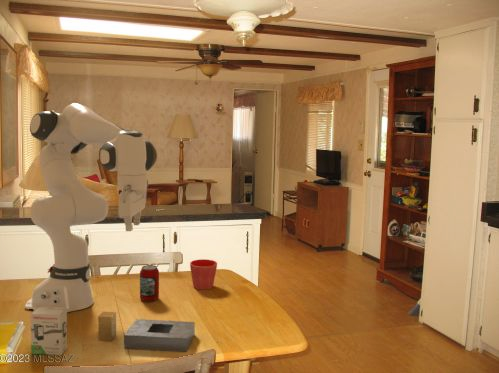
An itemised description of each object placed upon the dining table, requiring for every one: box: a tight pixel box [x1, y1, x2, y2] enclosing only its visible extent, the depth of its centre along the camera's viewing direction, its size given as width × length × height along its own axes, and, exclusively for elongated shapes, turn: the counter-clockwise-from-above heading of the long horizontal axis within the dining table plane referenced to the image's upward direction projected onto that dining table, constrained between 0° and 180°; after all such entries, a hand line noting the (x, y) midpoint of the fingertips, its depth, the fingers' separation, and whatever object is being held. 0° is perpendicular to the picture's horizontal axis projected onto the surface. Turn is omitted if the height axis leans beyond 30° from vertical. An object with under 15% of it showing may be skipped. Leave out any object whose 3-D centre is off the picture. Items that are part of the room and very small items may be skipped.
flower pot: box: [189, 258, 218, 291], centre depth 200 cm, size 11×11×10 cm
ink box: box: [30, 307, 68, 356], centre depth 141 cm, size 9×5×12 cm, turn 90°
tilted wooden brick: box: [97, 311, 117, 343], centre depth 150 cm, size 4×4×8 cm
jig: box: [123, 318, 196, 353], centre depth 149 cm, size 18×12×4 cm, turn 86°
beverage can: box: [139, 264, 160, 302], centre depth 184 cm, size 7×7×12 cm
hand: (133, 227), depth 158 cm, fingers open, 8 cm apart
